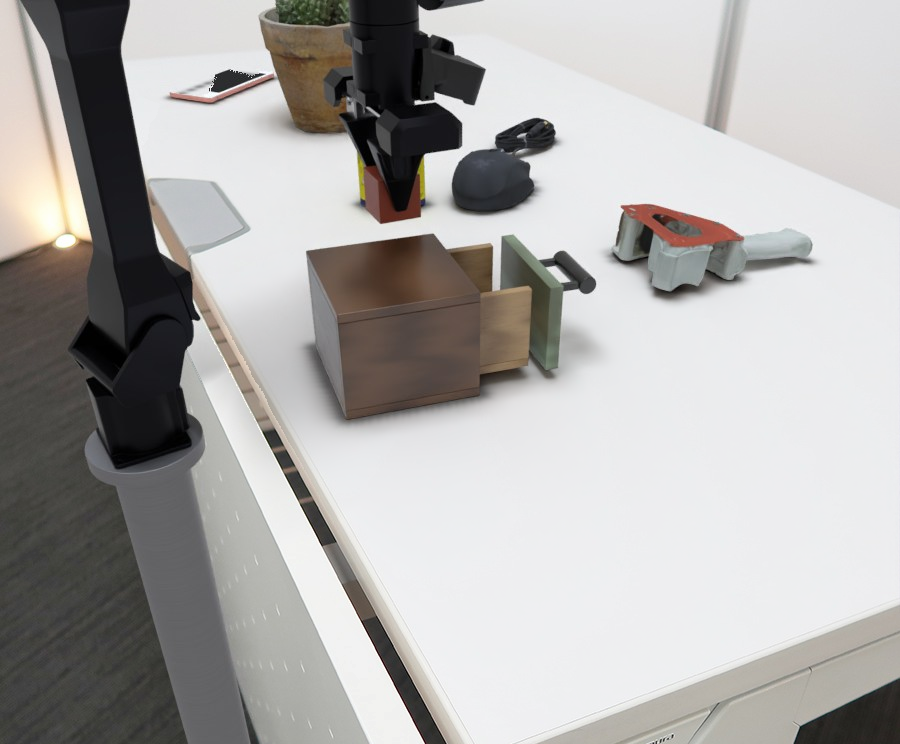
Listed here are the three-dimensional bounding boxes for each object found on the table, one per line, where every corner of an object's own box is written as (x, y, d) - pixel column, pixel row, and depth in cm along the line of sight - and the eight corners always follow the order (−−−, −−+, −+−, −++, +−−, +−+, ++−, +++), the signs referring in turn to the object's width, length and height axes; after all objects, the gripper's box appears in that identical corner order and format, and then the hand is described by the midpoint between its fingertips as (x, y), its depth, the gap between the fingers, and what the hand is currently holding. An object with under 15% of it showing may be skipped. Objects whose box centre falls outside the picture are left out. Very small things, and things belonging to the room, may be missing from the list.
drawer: (552, 303, 90) (557, 227, 86) (604, 359, 81) (612, 278, 77) (406, 327, 86) (403, 249, 82) (443, 388, 78) (442, 305, 73)
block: (380, 224, 83) (377, 181, 81) (365, 209, 86) (362, 166, 84) (421, 217, 85) (420, 174, 82) (405, 202, 88) (403, 160, 85)
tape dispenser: (806, 267, 102) (632, 227, 108) (821, 221, 99) (640, 182, 105) (782, 331, 88) (584, 280, 95) (798, 279, 85) (593, 230, 92)
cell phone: (168, 97, 153) (167, 91, 153) (235, 71, 166) (234, 66, 166) (211, 103, 150) (210, 97, 149) (275, 77, 163) (275, 71, 162)
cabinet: (435, 327, 88) (433, 232, 83) (479, 395, 79) (481, 292, 73) (315, 347, 85) (305, 250, 80) (346, 419, 76) (336, 315, 70)
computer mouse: (439, 211, 112) (438, 166, 109) (505, 132, 137) (506, 94, 134) (515, 219, 110) (516, 174, 107) (568, 137, 135) (571, 98, 131)
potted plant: (360, 147, 132) (348, -50, 117) (247, 133, 137) (221, -56, 123) (409, 111, 146) (403, -68, 131) (304, 100, 151) (288, -73, 136)
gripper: (524, 32, 71) (517, 224, 80) (431, -9, 85) (434, 160, 94) (388, 46, 68) (397, 246, 77) (315, 2, 82) (329, 175, 91)
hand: (392, 202), depth 85 cm, fingers closed on block, 4 cm apart
